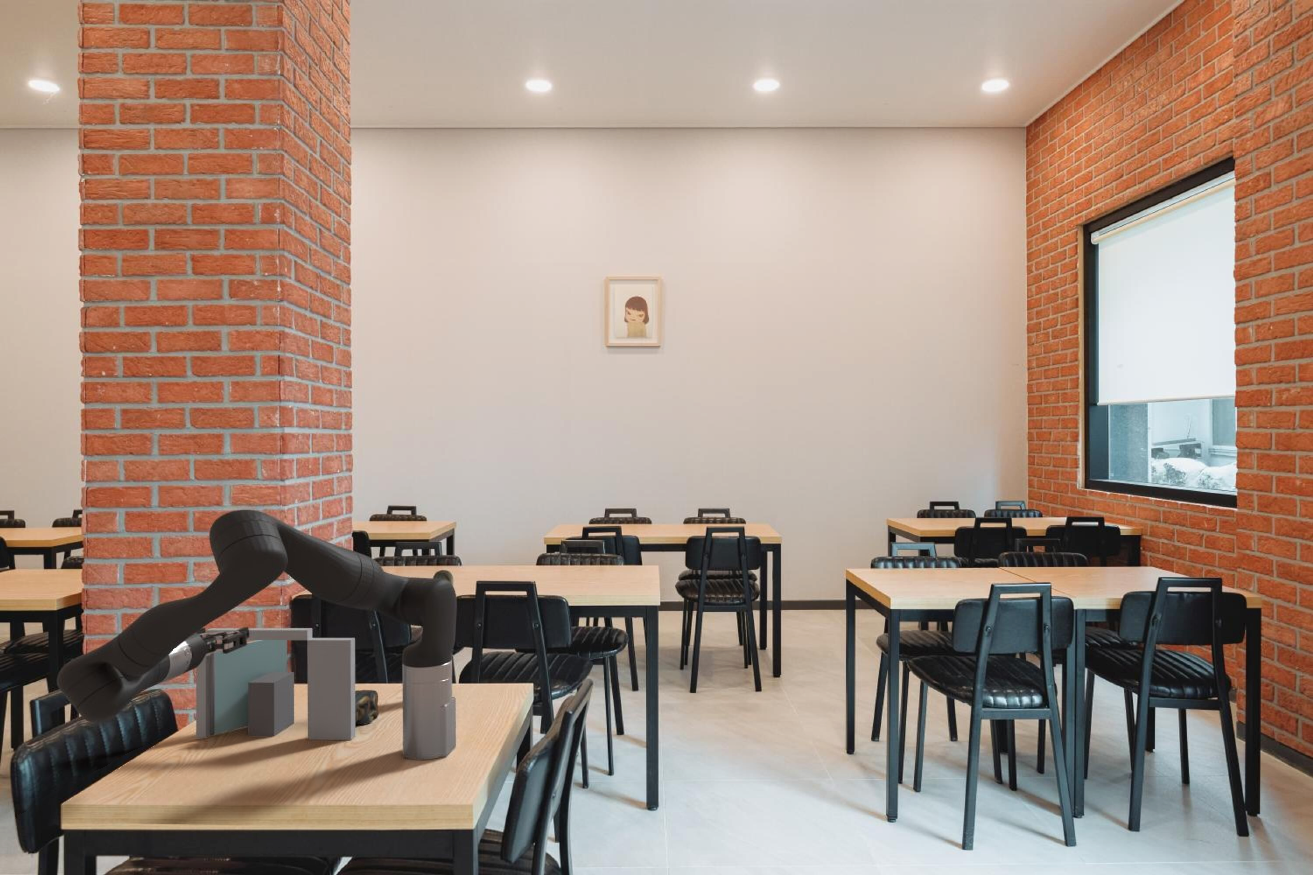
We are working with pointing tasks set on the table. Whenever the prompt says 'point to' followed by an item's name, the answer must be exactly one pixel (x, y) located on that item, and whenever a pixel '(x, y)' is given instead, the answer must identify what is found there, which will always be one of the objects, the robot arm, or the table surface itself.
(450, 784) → the table surface
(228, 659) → the door
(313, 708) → the wall frame
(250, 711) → the doorstop block
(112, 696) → the robot arm
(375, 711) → the sculpture
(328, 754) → the table surface
